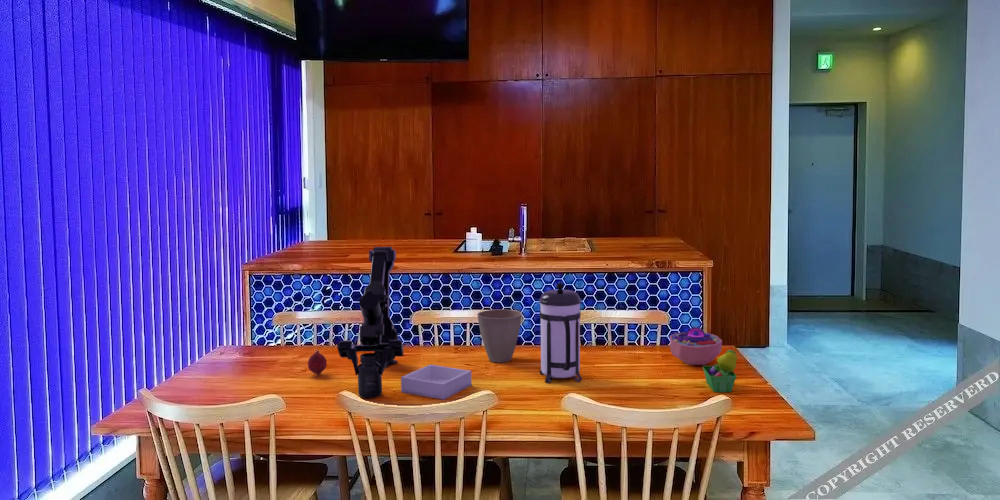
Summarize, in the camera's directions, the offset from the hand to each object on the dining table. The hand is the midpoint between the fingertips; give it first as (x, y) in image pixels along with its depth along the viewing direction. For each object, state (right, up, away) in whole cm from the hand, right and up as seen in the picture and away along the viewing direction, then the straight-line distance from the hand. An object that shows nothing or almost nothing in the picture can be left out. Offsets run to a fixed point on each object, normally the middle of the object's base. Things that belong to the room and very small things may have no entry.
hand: (368, 374), depth 221 cm
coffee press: (+57, -4, +16) cm, 59 cm away
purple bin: (+19, -6, +8) cm, 21 cm away
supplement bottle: (0, -7, +2) cm, 7 cm away
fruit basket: (+103, -5, +5) cm, 103 cm away
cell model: (+102, -2, +31) cm, 107 cm away
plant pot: (+38, -1, +38) cm, 54 cm away
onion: (-20, -4, +24) cm, 31 cm away
